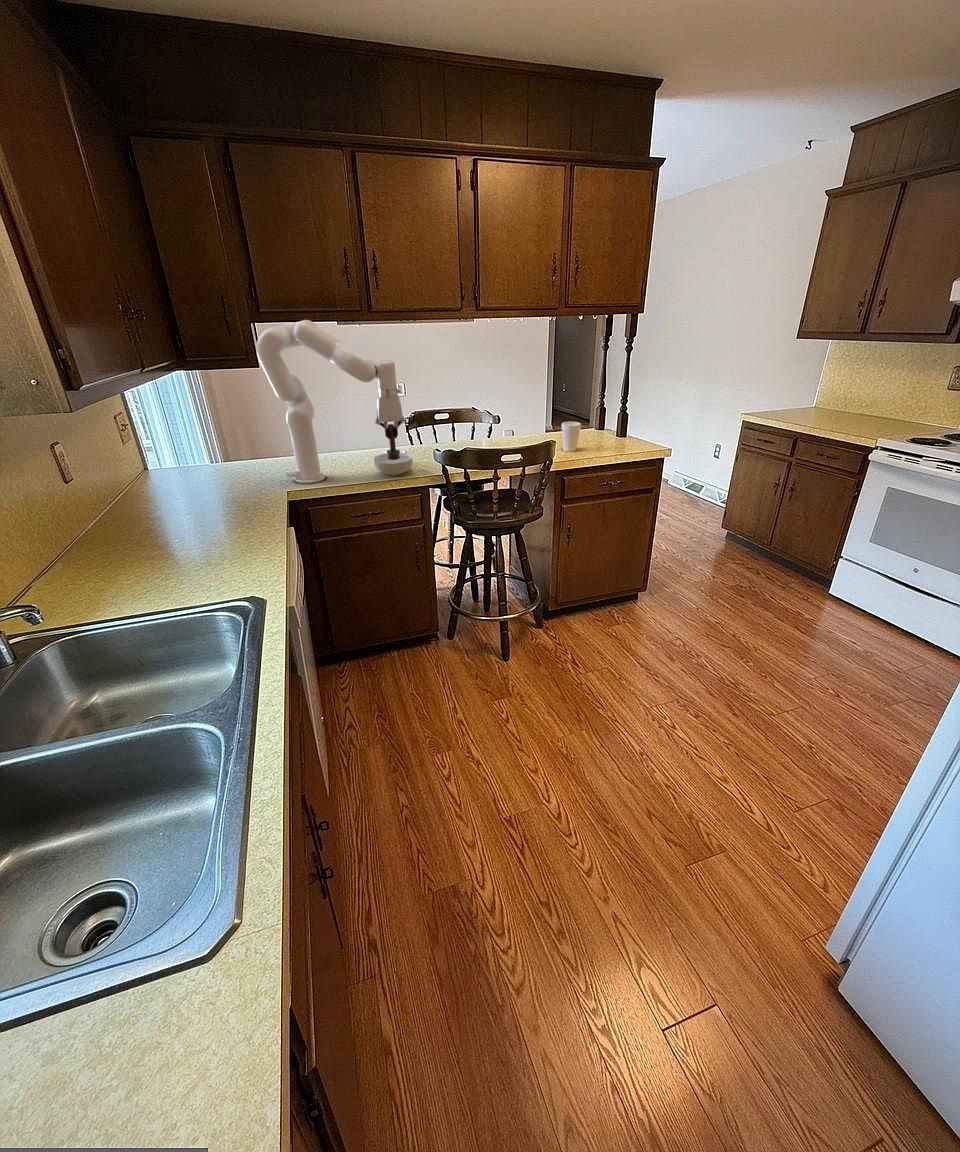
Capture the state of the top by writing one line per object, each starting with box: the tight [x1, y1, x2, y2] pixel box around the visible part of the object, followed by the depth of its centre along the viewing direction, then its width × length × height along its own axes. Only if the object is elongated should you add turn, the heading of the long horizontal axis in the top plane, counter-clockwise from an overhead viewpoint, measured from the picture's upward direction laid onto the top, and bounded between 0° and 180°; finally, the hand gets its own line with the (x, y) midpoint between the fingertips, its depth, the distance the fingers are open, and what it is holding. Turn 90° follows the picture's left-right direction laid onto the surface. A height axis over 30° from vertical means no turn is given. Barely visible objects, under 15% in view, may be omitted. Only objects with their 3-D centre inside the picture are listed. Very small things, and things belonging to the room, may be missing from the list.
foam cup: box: [561, 421, 582, 452], centre depth 259 cm, size 10×9×13 cm
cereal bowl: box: [373, 452, 413, 476], centre depth 229 cm, size 17×17×7 cm
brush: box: [386, 423, 401, 460], centre depth 222 cm, size 6×6×14 cm
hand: (391, 437), depth 221 cm, fingers closed on brush, 2 cm apart
